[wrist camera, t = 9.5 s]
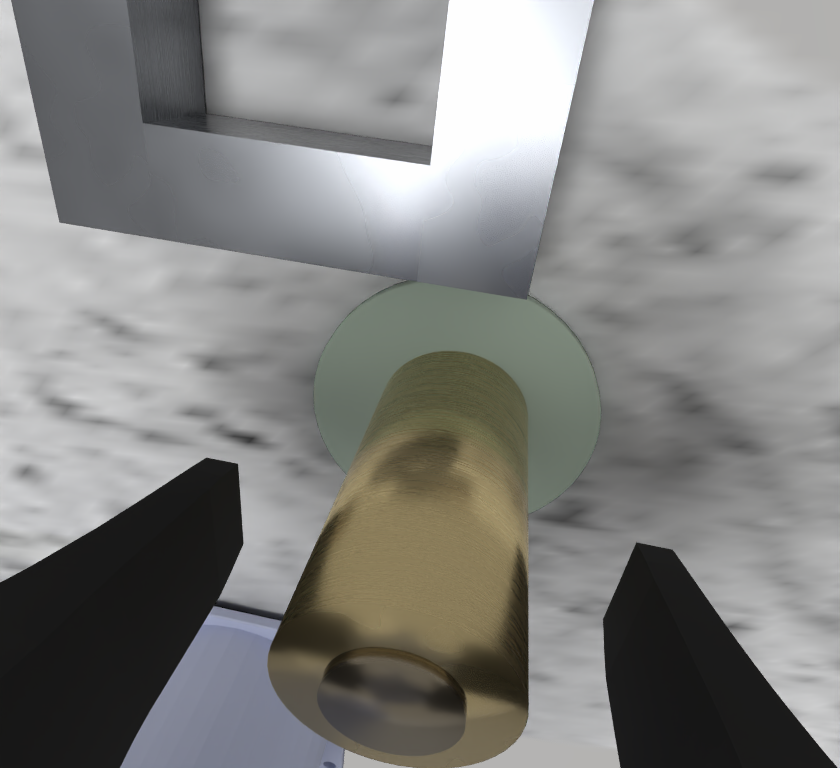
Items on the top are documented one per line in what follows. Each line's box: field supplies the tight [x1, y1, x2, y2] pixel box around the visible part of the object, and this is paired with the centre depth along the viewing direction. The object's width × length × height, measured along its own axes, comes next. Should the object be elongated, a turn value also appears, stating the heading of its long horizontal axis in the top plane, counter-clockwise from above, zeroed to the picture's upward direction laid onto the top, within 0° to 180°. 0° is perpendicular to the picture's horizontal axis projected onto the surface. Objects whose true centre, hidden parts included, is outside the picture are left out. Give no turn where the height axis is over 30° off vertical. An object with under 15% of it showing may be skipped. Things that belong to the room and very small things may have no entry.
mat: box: [313, 280, 601, 514], centre depth 14 cm, size 7×7×1 cm
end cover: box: [267, 351, 529, 768], centre depth 10 cm, size 4×4×7 cm
